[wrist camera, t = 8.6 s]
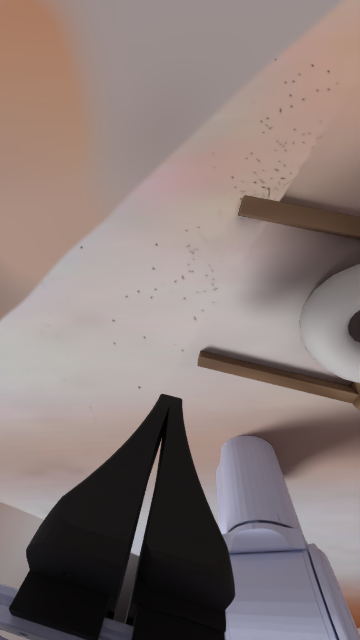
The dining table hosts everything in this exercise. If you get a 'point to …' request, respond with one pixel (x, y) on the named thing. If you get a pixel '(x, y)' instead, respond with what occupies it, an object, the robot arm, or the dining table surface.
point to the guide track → (307, 220)
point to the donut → (333, 324)
